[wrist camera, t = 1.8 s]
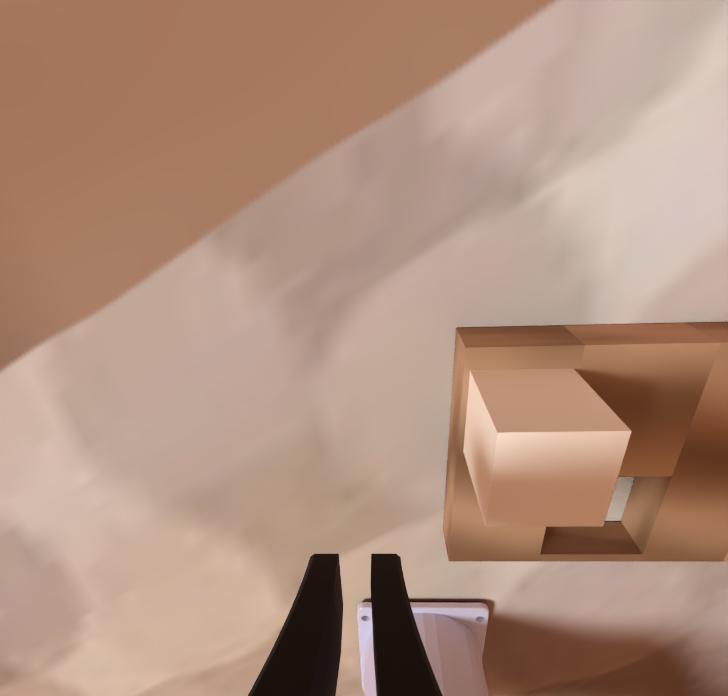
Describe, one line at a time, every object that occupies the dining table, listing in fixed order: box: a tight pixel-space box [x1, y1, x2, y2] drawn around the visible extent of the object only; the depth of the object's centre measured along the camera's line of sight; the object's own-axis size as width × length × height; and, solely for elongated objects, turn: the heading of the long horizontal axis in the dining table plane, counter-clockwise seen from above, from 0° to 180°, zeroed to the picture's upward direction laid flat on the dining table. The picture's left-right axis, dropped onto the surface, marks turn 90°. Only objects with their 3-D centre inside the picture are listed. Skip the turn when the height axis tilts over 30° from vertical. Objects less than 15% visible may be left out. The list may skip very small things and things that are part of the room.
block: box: [463, 369, 631, 527], centre depth 15 cm, size 4×4×4 cm
